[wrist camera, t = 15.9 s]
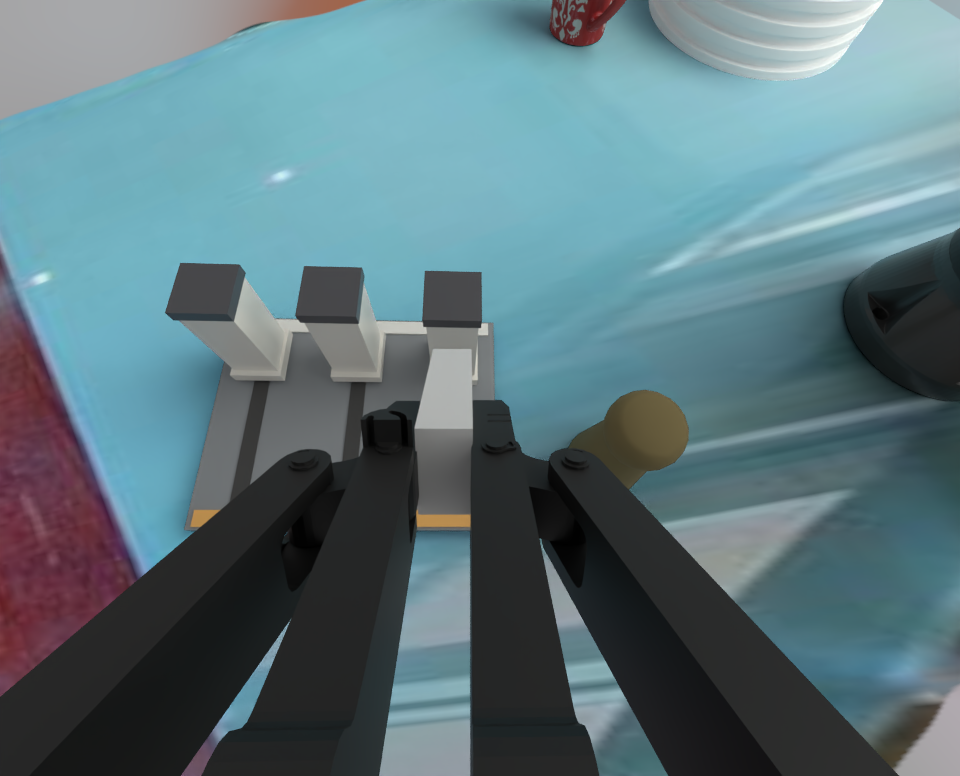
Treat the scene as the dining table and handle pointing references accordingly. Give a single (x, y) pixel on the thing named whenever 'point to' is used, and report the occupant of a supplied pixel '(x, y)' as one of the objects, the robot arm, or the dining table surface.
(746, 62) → the plate stack
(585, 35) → the mug
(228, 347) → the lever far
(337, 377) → the lever mid
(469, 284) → the lever
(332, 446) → the panel
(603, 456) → the cork
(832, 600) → the dining table surface
